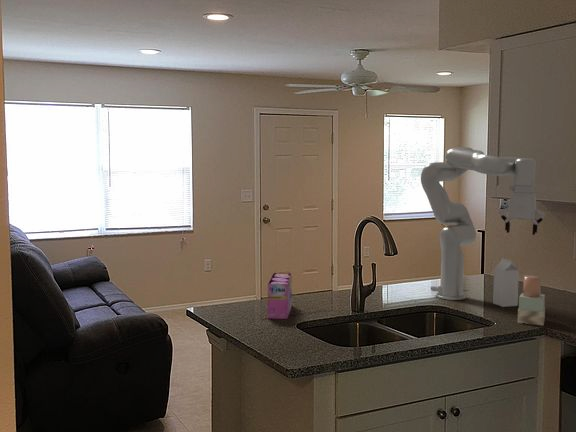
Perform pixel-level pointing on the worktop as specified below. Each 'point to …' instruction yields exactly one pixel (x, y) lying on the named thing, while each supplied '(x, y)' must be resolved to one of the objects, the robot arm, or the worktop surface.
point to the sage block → (531, 303)
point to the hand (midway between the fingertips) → (520, 233)
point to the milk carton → (505, 284)
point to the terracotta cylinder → (531, 286)
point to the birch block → (531, 317)
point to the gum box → (279, 296)
